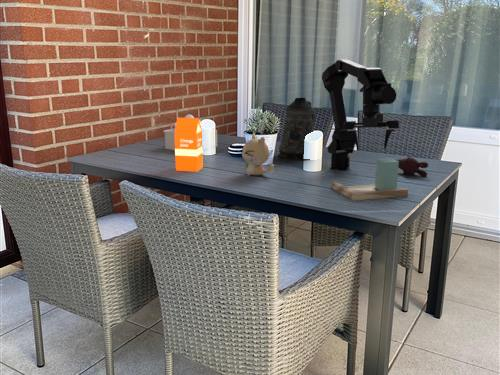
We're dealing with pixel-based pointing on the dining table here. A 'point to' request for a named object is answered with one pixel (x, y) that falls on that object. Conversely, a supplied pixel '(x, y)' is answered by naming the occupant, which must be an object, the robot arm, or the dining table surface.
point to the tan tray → (367, 191)
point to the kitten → (256, 156)
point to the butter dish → (171, 137)
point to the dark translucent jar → (296, 128)
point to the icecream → (412, 166)
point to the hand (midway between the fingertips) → (371, 149)
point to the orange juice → (188, 144)
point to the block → (386, 174)
